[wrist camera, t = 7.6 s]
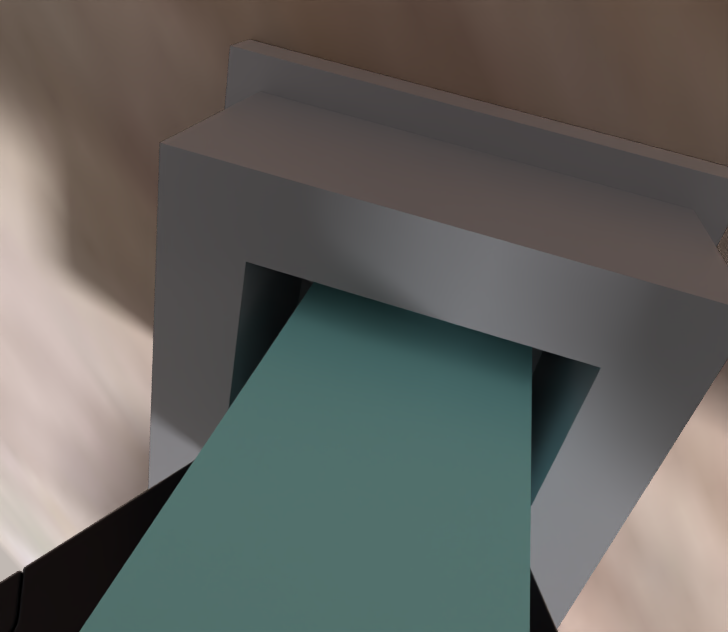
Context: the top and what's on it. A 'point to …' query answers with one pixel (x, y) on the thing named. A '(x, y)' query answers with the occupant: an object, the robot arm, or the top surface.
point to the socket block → (447, 269)
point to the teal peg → (350, 488)
